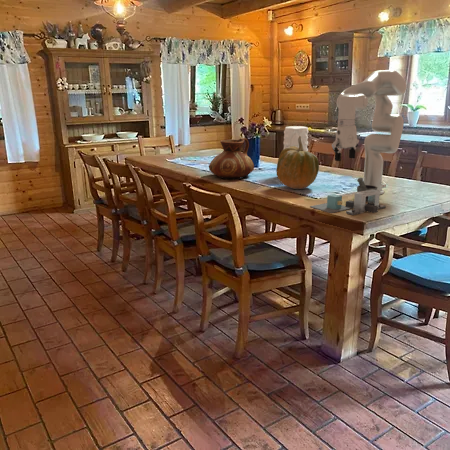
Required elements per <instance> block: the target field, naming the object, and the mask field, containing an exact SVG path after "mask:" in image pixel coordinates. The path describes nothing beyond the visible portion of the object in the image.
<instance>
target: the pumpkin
mask: <svg viewBox="0 0 450 450" xmlns="http://www.w3.org/2000/svg"><path fill="white" fill-rule="evenodd" d="M298 143H299V149H298V148H297V147H295V146H291V147H288V148H285V149H284V148H283V149H284V150H283V149H282V150H281V152H280V153H279V156H278V160H277V164H276V169H275V170H276V172H275V173H276V176H277V178H278V181H279V182H280V183H281V184H282V185H284V186H285V187H287V188H290V189H294V190H302V189H303V190H304V189H307V188H308V187H309V186H311V184H312V185H313V183H314V182H315V180H316V178H317V177H318V174H319V169H320V163H319V159H318V157H317V156H316V155H315V154H314V153H311V152H310V151H309V150H308V151H304V150H303V145H302V142H301V136H299V138H298Z"/></svg>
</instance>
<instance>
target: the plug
mask: <svg viewBox="0 0 450 450" xmlns="http://www.w3.org/2000/svg"><path fill="white" fill-rule="evenodd" d="M326 198H327V199H326V203H327V208H331V209H340V208H341V205H343V195H340V194H336V193H332V194H327V197H326Z"/></svg>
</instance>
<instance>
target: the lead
mask: <svg viewBox="0 0 450 450" xmlns="http://www.w3.org/2000/svg"><path fill="white" fill-rule="evenodd" d="M345 206H347V207H351V208H352V209H353V208H354V200H346V201H345ZM378 210H379V209H378V206H374V205H369V204H368V203H365V212H367V211H368V212H367V213H371V212H372V213H373V214H375V213H377V212H378Z"/></svg>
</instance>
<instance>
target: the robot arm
mask: <svg viewBox="0 0 450 450" xmlns="http://www.w3.org/2000/svg"><path fill="white" fill-rule="evenodd" d="M406 90H407V81H406V79H405V77H403V75H402V74H400V73H399V72H398V71H397V70H394V69H385V70H384V69H382V70H381V69H380V70H379V69H378V70H375V71H373V72H371V73H370V74H369V75H368V76H367V77H366V78H365V79H364V80H363V81H362V82H358V83H356V84H354V85H352V86H349V87H347V88H344V90H343V91H342V92H341V93H340V94H339V95H338V97H337V99H336V107H337V108H338V114H337V115H338V119H337V120H338V121H337V128H336V133H335V140H334V141H333V143H331V147H332V150H333V152H334V161H336V162H341V161H342V153H341V151H342V149H349V153H348V158H349V159H355V158H356V150H357V147H359V142H360V139H359V138H358V137H357V136H358V134H357V133H358V132H357V125H356V111H363V110H365V109H366V108H367V106H368V104H369V98H372V97H374V101H375V107H374V113H373V117H372V122H371V129H372V131H373V132H375V133H371V134H368V135H367V136H366V137H365V138H364V142H363V143H364V166H363V167H364V169H363V182H364V184H365V185H372V186H376V187H377V190H379V191H380V195H382V194H384V193H385V191H384V190H383V188H386V187H387V183H382V180H383V173H384V171H383V170H384V169H383V168H384V157H383V156H382V154H381V153H383V154H384V153H385V154H395V153H396V152H397V151H398V149H399V146H400V142H401V137H402V134H403V129H404V123H405V122H404V118H403V117H404V116H402V115H401V114H396V113H393V107H394V106H393V102H392V101H391V99H390V98H389V97H391V96H393V97H394V96H401V95H403V94H404V93H405V92H406ZM388 96H389V97H388ZM384 133H385V134H384ZM387 133H388V134H387Z"/></svg>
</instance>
